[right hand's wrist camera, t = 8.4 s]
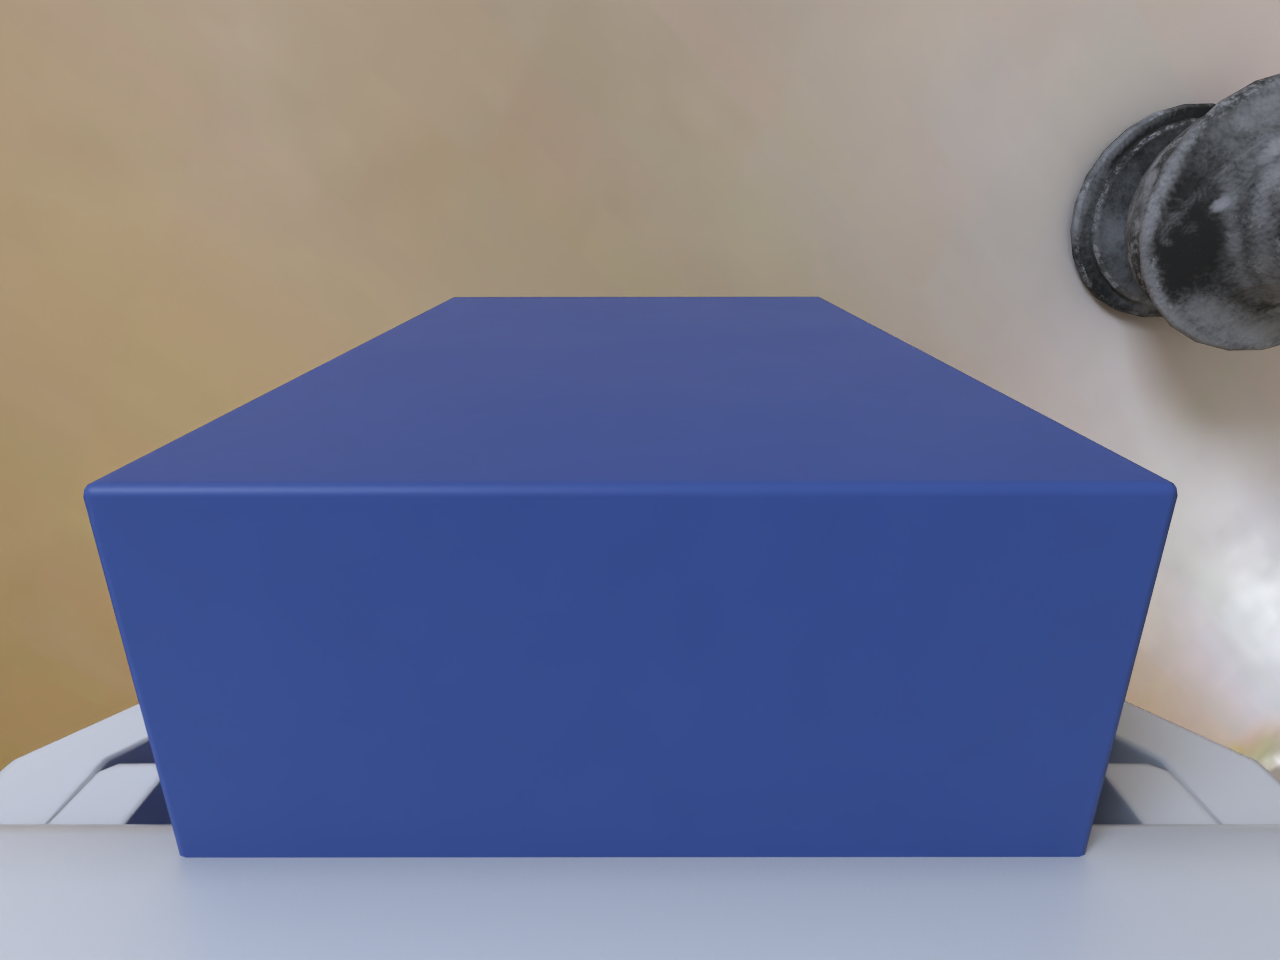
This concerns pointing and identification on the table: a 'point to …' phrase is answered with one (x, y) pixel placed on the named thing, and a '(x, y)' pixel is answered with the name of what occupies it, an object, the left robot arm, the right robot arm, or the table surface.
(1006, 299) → the table surface
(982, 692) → the bar
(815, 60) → the table surface
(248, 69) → the table surface
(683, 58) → the table surface
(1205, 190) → the chess piece
